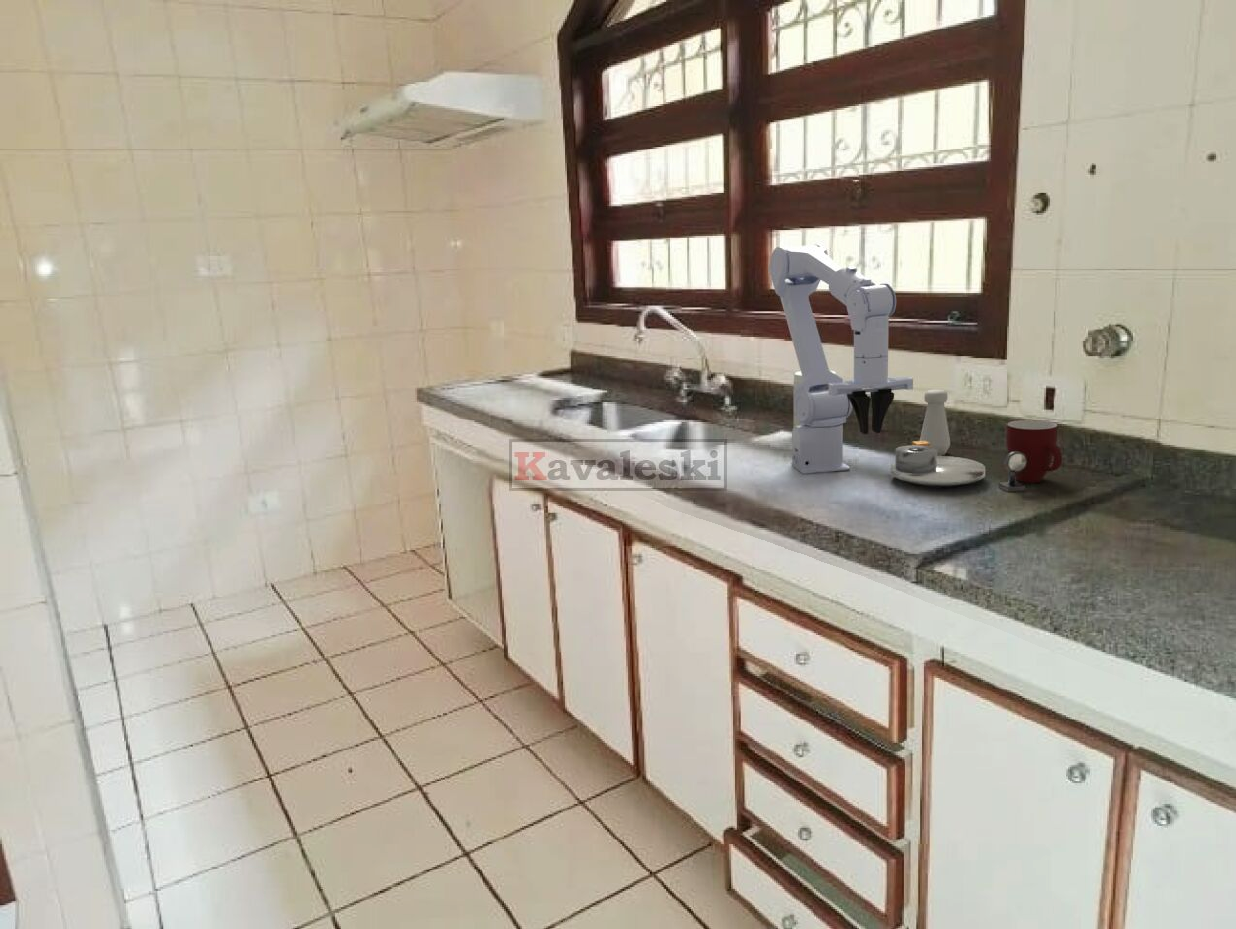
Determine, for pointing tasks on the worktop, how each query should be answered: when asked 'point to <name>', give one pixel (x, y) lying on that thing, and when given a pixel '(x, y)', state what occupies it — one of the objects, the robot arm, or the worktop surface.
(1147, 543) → the worktop surface
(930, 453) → the cover
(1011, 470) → the dial gauge
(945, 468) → the turntable
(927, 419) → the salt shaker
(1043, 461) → the mug
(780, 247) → the robot arm
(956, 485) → the turntable base
